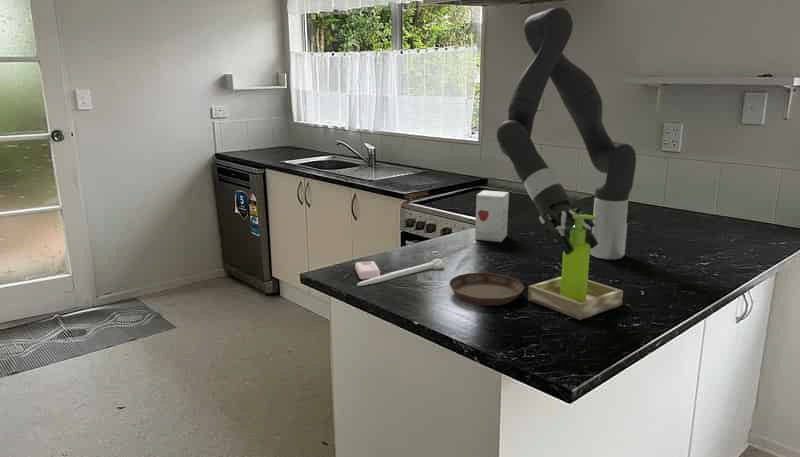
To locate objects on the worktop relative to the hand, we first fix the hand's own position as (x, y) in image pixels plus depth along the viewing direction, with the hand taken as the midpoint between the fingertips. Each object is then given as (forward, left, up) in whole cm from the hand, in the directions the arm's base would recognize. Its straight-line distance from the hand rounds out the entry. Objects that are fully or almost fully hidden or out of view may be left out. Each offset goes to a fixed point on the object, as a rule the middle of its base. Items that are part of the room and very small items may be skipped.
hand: (583, 249), depth 135 cm
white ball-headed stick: (+21, -41, -14) cm, 48 cm away
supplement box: (-26, -55, -13) cm, 63 cm away
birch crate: (0, -1, -13) cm, 13 cm away
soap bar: (+27, -48, -14) cm, 57 cm away
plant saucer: (+13, -17, -14) cm, 26 cm away
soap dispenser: (0, -2, -13) cm, 13 cm away
